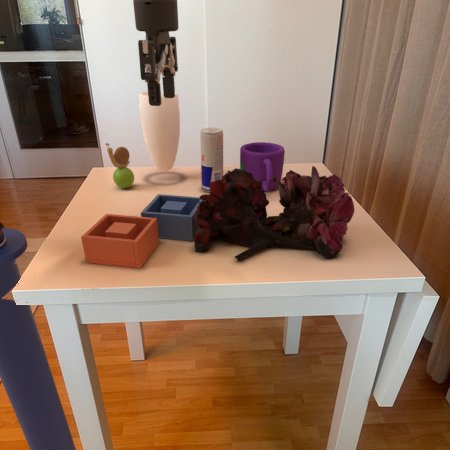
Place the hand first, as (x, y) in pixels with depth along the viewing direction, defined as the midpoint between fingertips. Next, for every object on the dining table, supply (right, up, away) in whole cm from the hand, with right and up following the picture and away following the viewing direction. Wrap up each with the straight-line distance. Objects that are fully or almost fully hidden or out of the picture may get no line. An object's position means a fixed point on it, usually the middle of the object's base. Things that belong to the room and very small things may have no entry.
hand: (162, 101), depth 81 cm
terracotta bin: (-7, -29, 0) cm, 30 cm away
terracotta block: (-7, -29, 0) cm, 29 cm away
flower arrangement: (+22, -26, +5) cm, 34 cm away
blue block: (+1, -22, +9) cm, 24 cm away
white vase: (-5, -5, +36) cm, 37 cm away
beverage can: (+9, -10, +29) cm, 32 cm away
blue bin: (+1, -23, +9) cm, 25 cm away
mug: (+22, -10, +29) cm, 38 cm away
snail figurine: (-15, -9, +30) cm, 35 cm away
